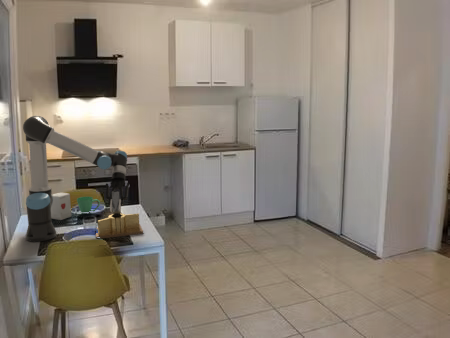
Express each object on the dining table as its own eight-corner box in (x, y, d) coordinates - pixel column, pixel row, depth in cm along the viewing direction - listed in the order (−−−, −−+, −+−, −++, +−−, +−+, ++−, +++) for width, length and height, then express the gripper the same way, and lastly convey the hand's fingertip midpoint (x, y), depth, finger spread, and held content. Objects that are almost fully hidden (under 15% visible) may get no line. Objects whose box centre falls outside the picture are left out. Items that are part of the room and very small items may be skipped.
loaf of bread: (96, 239, 225) (95, 222, 223) (95, 230, 239) (93, 214, 237) (143, 233, 233) (142, 217, 231) (139, 225, 247) (138, 209, 245)
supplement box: (60, 220, 258) (58, 196, 255) (50, 218, 262) (48, 195, 259) (72, 216, 266) (70, 193, 263) (61, 214, 270) (59, 192, 267)
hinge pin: (113, 220, 232) (112, 192, 229) (113, 218, 236) (111, 191, 233) (121, 220, 233) (119, 192, 230) (120, 217, 237) (118, 190, 234)
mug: (75, 215, 268) (74, 200, 266) (81, 211, 278) (80, 196, 276) (97, 215, 267) (96, 200, 265) (103, 211, 276) (102, 196, 275)
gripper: (134, 178, 246) (131, 213, 233) (105, 178, 245) (100, 214, 232) (132, 171, 240) (130, 206, 227) (102, 171, 239) (98, 207, 226)
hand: (115, 210), depth 230 cm, fingers closed on hinge pin, 4 cm apart
